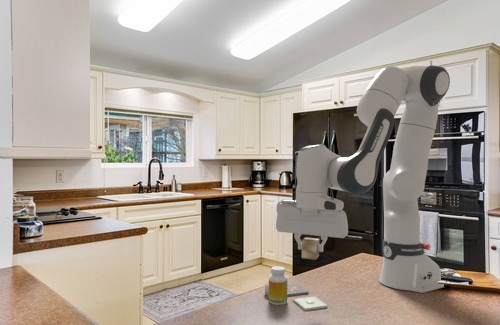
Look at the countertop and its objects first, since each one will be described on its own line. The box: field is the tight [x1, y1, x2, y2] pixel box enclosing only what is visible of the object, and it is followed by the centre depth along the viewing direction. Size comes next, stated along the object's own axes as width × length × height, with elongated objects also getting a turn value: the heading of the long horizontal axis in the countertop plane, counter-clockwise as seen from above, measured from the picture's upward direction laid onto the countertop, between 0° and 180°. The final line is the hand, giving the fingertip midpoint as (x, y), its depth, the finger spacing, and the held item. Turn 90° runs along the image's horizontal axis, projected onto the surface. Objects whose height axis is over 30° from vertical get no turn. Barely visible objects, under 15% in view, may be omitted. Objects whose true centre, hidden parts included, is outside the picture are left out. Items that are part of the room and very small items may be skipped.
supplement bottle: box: [268, 265, 288, 306], centre depth 102 cm, size 5×5×10 cm
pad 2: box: [293, 296, 328, 311], centre depth 101 cm, size 7×7×1 cm
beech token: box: [301, 237, 320, 261], centre depth 101 cm, size 4×4×5 cm
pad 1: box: [287, 284, 309, 297], centre depth 111 cm, size 7×7×1 cm
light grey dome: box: [264, 281, 269, 298], centre depth 108 cm, size 5×5×3 cm
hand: (310, 250), depth 101 cm, fingers closed on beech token, 4 cm apart
